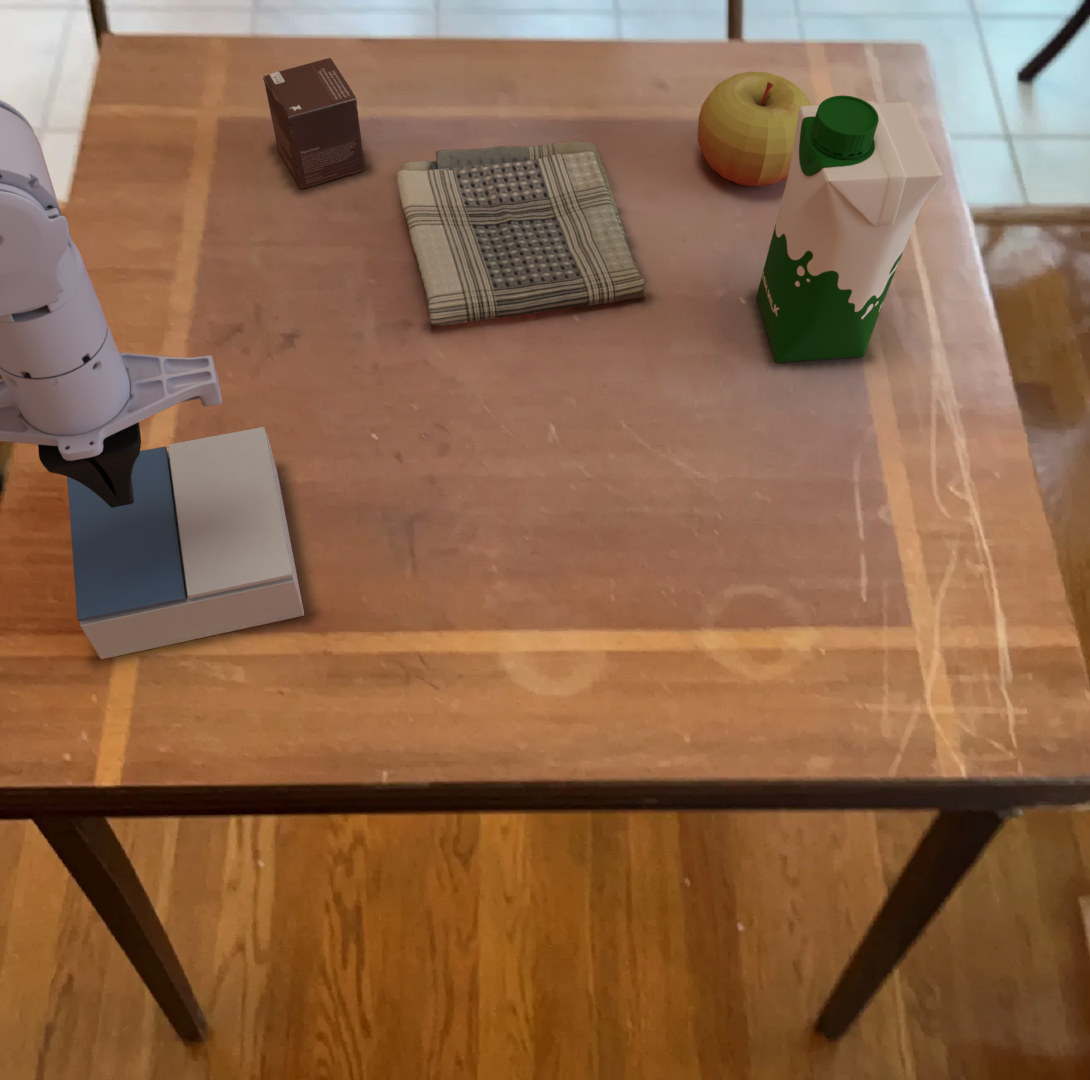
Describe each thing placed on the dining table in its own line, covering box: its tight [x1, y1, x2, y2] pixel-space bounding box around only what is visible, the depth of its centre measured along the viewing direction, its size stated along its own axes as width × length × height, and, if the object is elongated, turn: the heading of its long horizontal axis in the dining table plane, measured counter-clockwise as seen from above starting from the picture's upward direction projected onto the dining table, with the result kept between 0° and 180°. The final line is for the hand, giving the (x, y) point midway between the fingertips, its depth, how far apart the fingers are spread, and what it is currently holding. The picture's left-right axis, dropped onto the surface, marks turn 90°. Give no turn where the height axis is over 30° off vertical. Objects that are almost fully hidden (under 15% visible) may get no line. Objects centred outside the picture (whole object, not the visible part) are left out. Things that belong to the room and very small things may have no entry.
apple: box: [697, 71, 812, 187], centre depth 99 cm, size 10×10×8 cm
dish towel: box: [396, 140, 646, 326], centre depth 95 cm, size 19×18×3 cm
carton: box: [79, 426, 305, 660], centre depth 77 cm, size 13×12×5 cm
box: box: [262, 57, 366, 189], centre depth 98 cm, size 6×6×7 cm
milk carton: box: [755, 95, 944, 364], centre depth 84 cm, size 9×9×20 cm
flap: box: [66, 446, 186, 623], centre depth 74 cm, size 6×12×1 cm, turn 15°
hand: (120, 492), depth 70 cm, fingers closed
